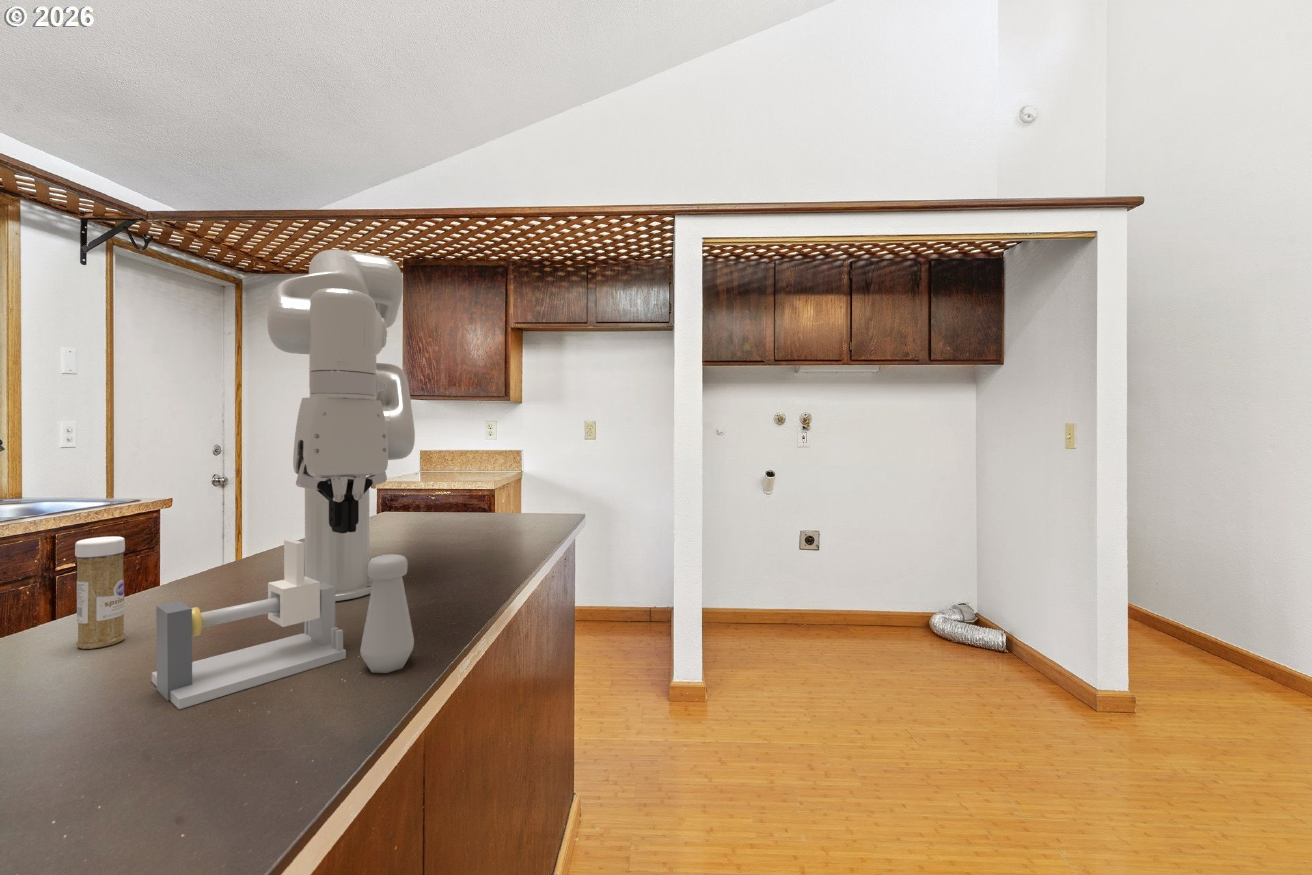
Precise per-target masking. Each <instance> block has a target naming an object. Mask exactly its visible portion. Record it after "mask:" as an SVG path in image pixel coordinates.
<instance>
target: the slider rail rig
mask: <svg viewBox="0 0 1312 875" xmlns="http://www.w3.org/2000/svg"><path fill="white" fill-rule="evenodd" d="M155 609H156V611H155V612H156V671H153V672H151V682H152V683H153V685H154V686H156V690H157V692H158V693H159V694H160V695H161V696H162V697H163V698H164V699H165V700H166V701H167V702H169V701H170V702H171V703H172V704H173V705H174V706H175V707H176V708H177V709H178V710H182V709H186V708H189V707H192V706H195V705H199V704H201V703H204V702H208V701H211V700H214V699H218V698H220V697H223V696H227V695H230V694H234V693H238V692H240V691H244V690H246V689H250V688H254V687H257V686H260V685H263V684H266V683H270V682H272V681H276V680H279V679H283V678H286V677H289V676H292V675H296V674H300V673H302V672H306V671H309V670H312V669H316V668H318V667H322V666H325V665H328V664H332V663H335V662H338V661H341V660H344V659H345V660H346V658H347V649H345V648H344V630H343V629H339V627H337V626H336V601H335V587H334V586H331V585H329V584H326V583H321V584H320V618H318V619H314V620H309V621H305V622H303V623H304V624H303V625H304V626H303V631H304V632H303V633H299V634H294V635H291V636H287V637H283V638H279V639H275V640H272V641H269V642H264V643H259V644H256V645H252V646H249V647H244V648H240V649H238V650H233V651H229V652H225V653H222V654H219V655H213V656H210V657H207V658H202V659H199V660H194V661H193V637H198V636H200V635H201V633H202V631H203V628H208V627H212V626H216V625H220V624H226V623H230V622H234V621H235V622H236V621H238V620H243V619H247V618H252V617H257V616H261V615H267V614H268V613H271V612H275V611H280V597H275V598H270V599H268V598H266V599H265V598H264V599H262V600H257V601H252V602H246V603H241V604H237V605H231V606H227V607H222V608H219V609H218V608H217V609H213V610H208V611H203V612H201V609H200V608H199V607H198V606H195V607H190V606H188V605H187V604H185V603H184V602H182V601H175V602H170V603H169V602H168V603H164V604H160V605H156V608H155Z"/></svg>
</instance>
